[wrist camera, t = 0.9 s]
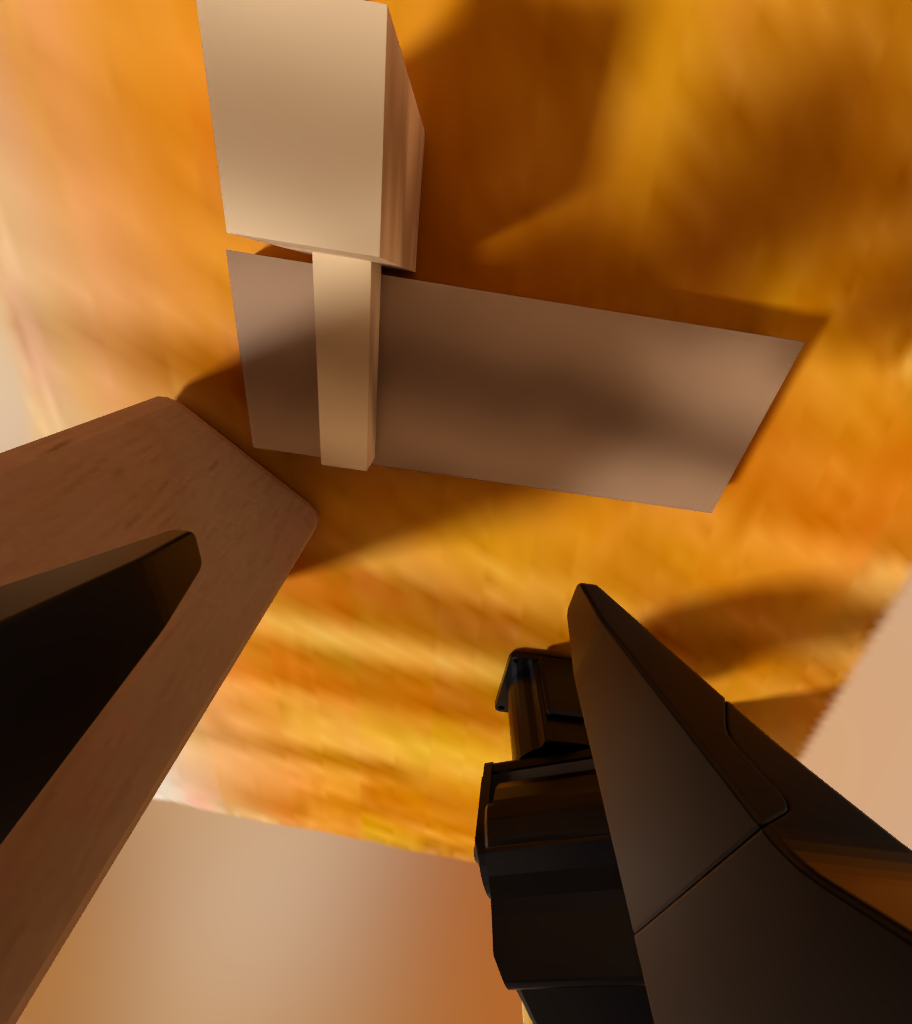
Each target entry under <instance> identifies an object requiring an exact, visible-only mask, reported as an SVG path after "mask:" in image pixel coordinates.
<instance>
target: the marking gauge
mask: <svg viewBox="0 0 912 1024" xmlns="http://www.w3.org/2000/svg"><path fill="white" fill-rule="evenodd" d="M196 3H197V10H198V18H199V25H200V33H201V40H202V48H203V56H204V63H205V71H206V78H207V86H208V93H209V101H210V109H211V116H212V124H213V131H214V139H215V146H216V154H217V162H218V169H219V177H220V184H221V192H222V199H223V207H224V215H225V222H226V230H227V233H230V234H234V235H238V236H241V237H245V238H249V239H253V240H257V241H261V242H264V243H268V244H272V245H276V246H280V247H283V248H287V249H291V250H295V251H299V252H303V253H306V254H310V255H312V260H313V284H314V307H315V331H316V354H317V378H318V402H319V425H320V449H321V465H327V466H334V467H341V468H348V469H355V470H362V471H367V470H368V468H369V467H370V465H371V463H372V462H373V460H374V458H375V439H376V409H377V378H378V348H379V318H380V288H381V267H385V268H391V269H397V270H403V271H410V272H415V268H416V254H417V240H418V226H419V212H420V198H421V184H422V170H423V156H424V142H425V130H424V127H423V123H422V120H421V117H420V113H419V110H418V106H417V103H416V100H415V96H414V93H413V90H412V86H411V83H410V79H409V76H408V73H407V69H406V66H405V63H404V59H403V56H402V52H401V49H400V46H399V42H398V39H397V36H396V32H395V29H394V25H393V22H392V19H391V15H390V12H389V9H388V5H387V4H382V3H376V2H371V1H368V0H196Z"/></svg>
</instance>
